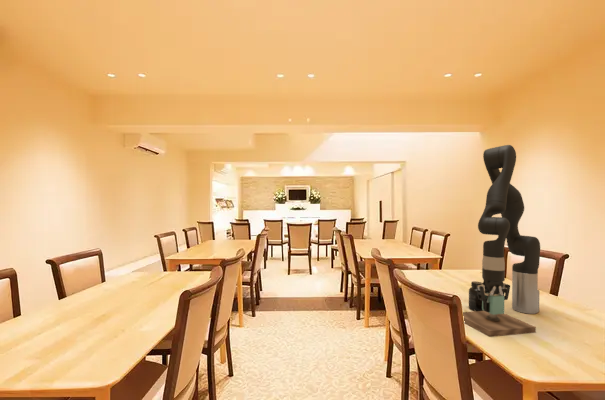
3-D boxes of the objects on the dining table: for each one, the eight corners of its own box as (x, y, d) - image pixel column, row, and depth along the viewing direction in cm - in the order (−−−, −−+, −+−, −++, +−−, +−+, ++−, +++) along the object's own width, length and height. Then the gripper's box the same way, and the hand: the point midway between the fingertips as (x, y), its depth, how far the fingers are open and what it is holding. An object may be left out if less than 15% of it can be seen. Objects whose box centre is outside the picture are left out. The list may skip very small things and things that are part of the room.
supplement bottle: (488, 312, 133) (488, 285, 133) (471, 311, 134) (471, 284, 134) (482, 307, 140) (482, 281, 140) (466, 306, 141) (466, 280, 141)
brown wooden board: (495, 314, 131) (495, 293, 131) (535, 332, 113) (535, 308, 113) (454, 317, 127) (454, 296, 127) (489, 336, 109) (489, 312, 109)
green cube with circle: (493, 308, 123) (493, 291, 123) (504, 313, 118) (504, 295, 118) (482, 309, 122) (482, 292, 122) (492, 314, 117) (492, 296, 117)
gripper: (500, 265, 125) (500, 306, 125) (470, 266, 122) (470, 308, 122) (517, 269, 118) (516, 313, 118) (485, 270, 115) (484, 315, 115)
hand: (492, 310), depth 120 cm, fingers closed on green cube with circle, 5 cm apart
